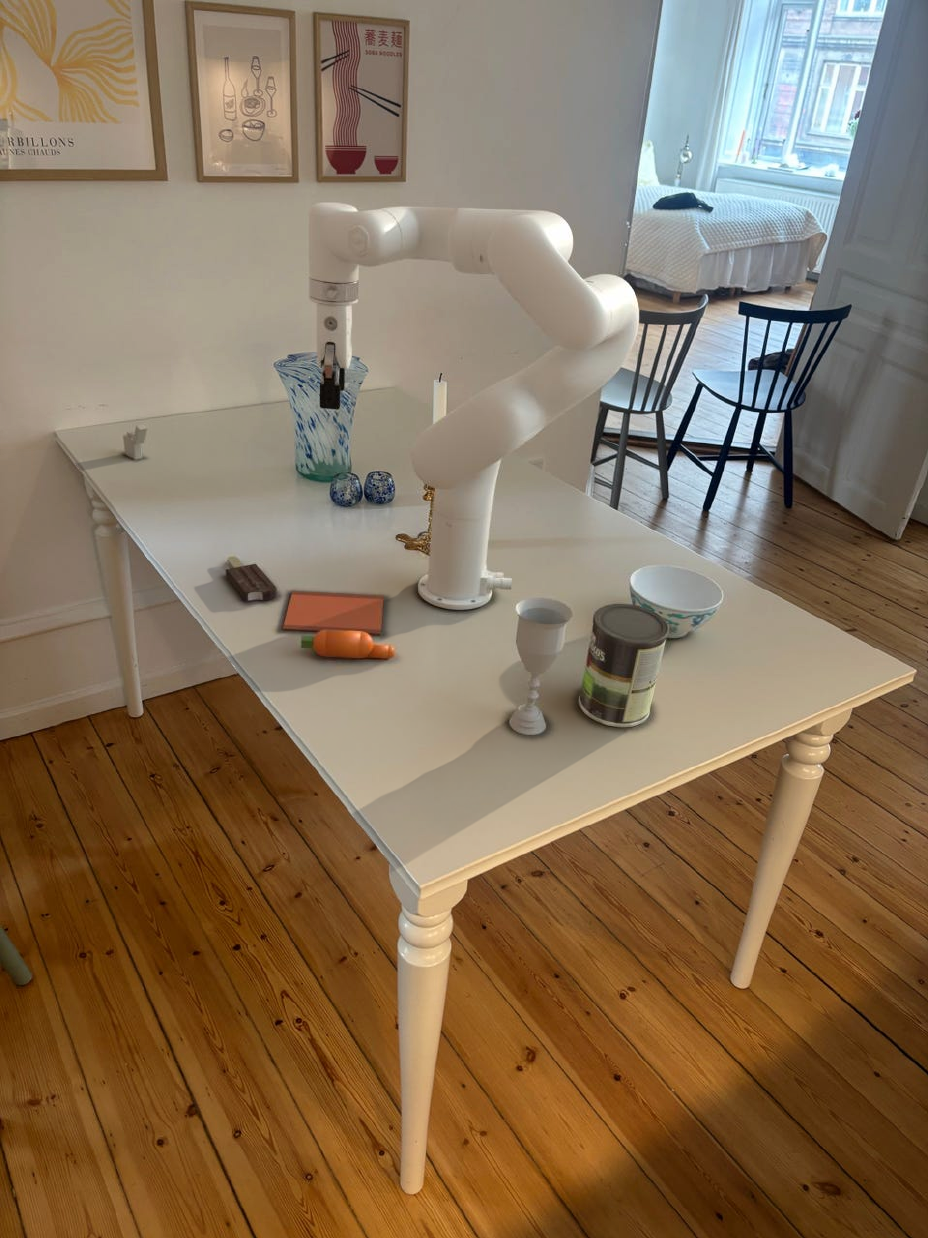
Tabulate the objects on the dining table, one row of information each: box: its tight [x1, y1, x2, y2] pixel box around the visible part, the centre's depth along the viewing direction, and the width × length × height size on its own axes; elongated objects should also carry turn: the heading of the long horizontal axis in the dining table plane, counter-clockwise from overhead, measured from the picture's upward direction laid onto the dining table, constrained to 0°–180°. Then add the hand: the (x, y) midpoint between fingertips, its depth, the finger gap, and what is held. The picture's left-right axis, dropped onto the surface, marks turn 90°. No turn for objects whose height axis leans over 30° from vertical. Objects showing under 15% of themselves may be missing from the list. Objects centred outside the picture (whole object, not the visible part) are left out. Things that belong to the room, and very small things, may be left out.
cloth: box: [282, 590, 384, 636], centre depth 149 cm, size 15×12×1 cm
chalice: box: [508, 597, 573, 736], centre depth 123 cm, size 7×7×18 cm
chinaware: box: [629, 564, 724, 639], centre depth 152 cm, size 15×15×8 cm
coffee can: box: [578, 603, 669, 728], centre depth 129 cm, size 10×10×14 cm
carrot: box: [300, 630, 396, 659], centre depth 138 cm, size 14×4×4 cm, turn 92°
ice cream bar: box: [225, 555, 277, 602], centre depth 155 cm, size 5×2×15 cm
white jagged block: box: [122, 423, 148, 461], centre depth 195 cm, size 7×2×8 cm, turn 48°
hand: (332, 398), depth 152 cm, fingers open, 9 cm apart
